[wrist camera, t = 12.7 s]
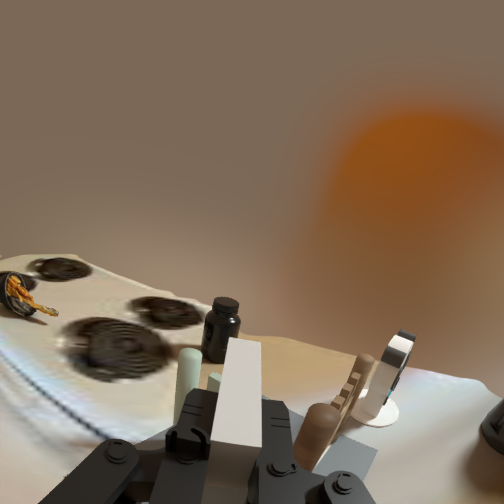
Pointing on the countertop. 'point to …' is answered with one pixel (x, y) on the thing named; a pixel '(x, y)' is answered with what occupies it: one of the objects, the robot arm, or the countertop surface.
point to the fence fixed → (330, 417)
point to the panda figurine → (384, 384)
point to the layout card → (333, 459)
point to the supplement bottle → (220, 329)
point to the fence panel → (191, 378)
